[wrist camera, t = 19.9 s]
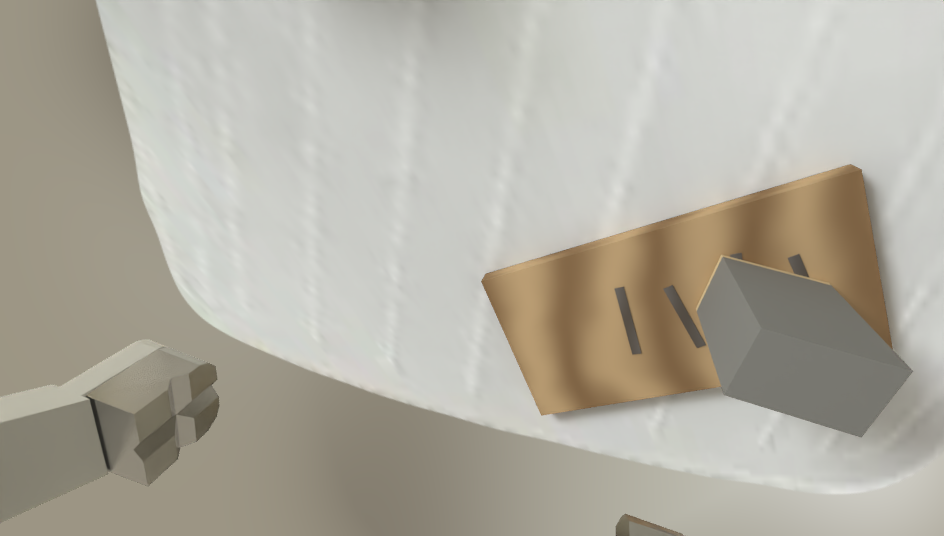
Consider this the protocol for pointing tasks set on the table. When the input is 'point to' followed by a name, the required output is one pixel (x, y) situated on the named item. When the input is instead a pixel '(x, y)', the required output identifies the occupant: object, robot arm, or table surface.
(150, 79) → the table surface
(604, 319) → the oak board
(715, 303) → the block
